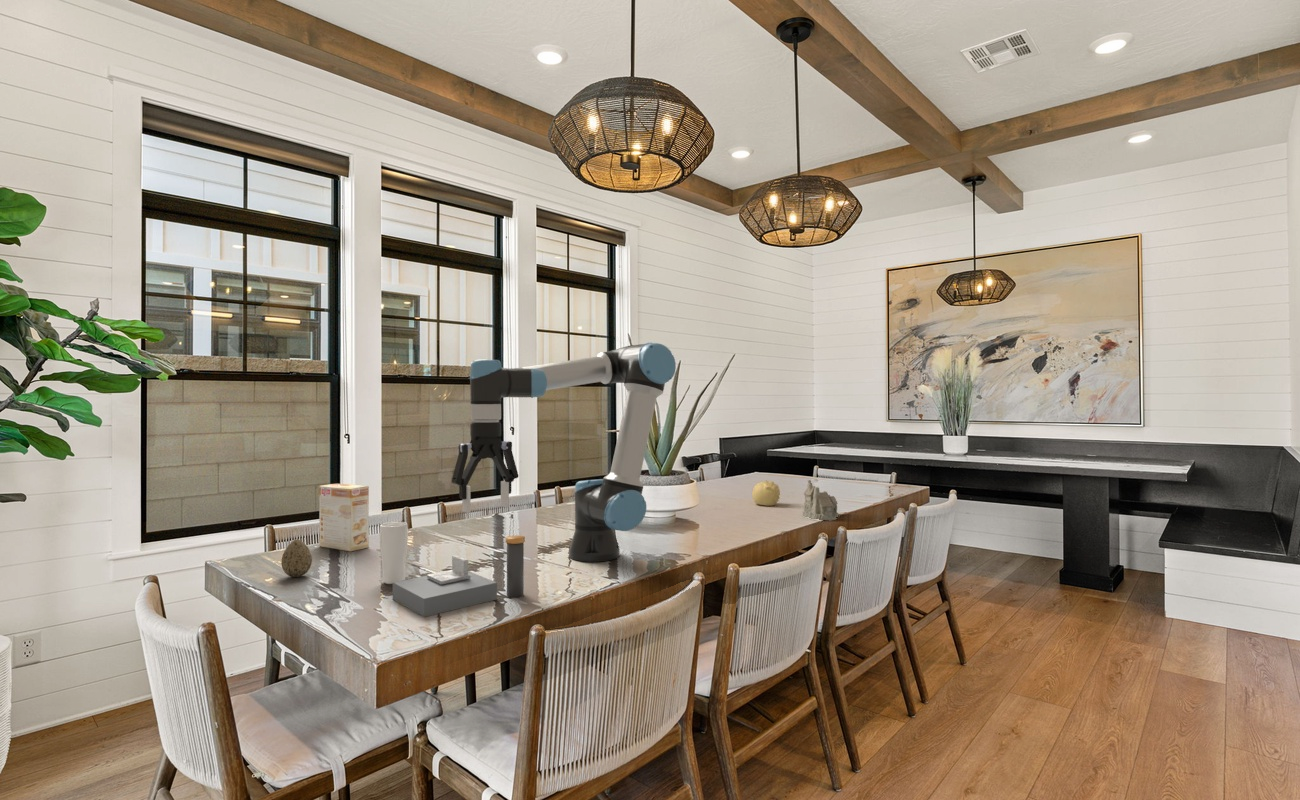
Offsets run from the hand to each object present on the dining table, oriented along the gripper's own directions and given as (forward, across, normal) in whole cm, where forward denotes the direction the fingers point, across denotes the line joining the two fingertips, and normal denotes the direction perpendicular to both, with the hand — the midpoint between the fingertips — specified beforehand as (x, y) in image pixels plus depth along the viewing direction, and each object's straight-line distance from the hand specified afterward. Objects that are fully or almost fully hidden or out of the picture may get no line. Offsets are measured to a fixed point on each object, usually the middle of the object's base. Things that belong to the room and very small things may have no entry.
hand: (486, 509), depth 166 cm
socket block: (+20, +12, +2) cm, 23 cm away
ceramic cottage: (+20, -146, +6) cm, 148 cm away
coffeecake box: (+20, +11, -70) cm, 73 cm away
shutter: (+15, +10, 0) cm, 18 cm away
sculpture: (+20, -152, -26) cm, 156 cm away
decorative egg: (+20, +32, -43) cm, 57 cm away
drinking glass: (+20, +15, -21) cm, 32 cm away
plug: (+20, -2, +10) cm, 22 cm away
